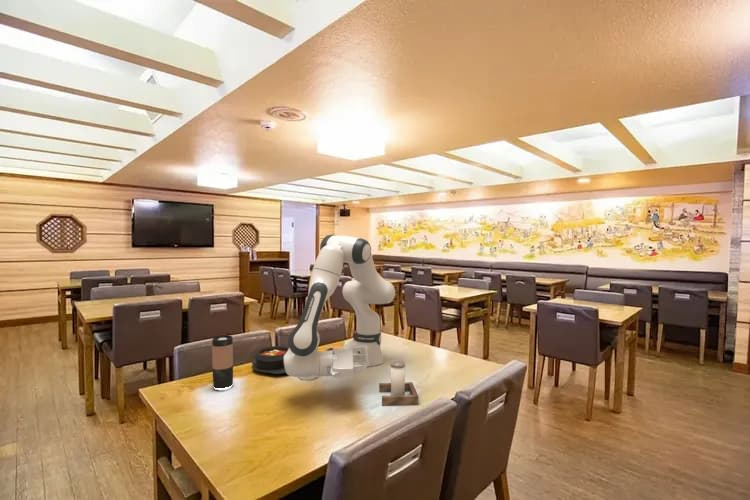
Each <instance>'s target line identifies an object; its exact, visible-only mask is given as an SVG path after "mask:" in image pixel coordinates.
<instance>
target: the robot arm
mask: <svg viewBox="0 0 750 500" xmlns="http://www.w3.org/2000/svg"><path fill="white" fill-rule="evenodd" d="M319 250H320V251H319V253H318V255H317V257H316V259H315V262H314V264H313V267H312V270H311V274H310V278H309V284H308V294H307V298H306V301H305V304H304V307H303V310H302V313H301V317H300V318H299V322H298V323H297V325H296V326H295V327H294V328H293V329H292V331H291V332H290V333H289V335H288V339H287V345H288V348H289V349H288V351H287V353H286V354H285V355H284V357H283V365H284V370H285V372H286V373H285V374H287V375H288V376H290V377H295V378H296V377H297V378H299V377H309V376H312V375H316V376H319V377H334V378H337V379H353V378H354V377H355V376H354V374H355V373H358V372H361V371H366V370H367V368H368V367H373V366H378V365H381V364H383V362H384V358H383V355H382V347H381V346H382V345H381V344H382V332H381V317H380V315H379V314H378V313H377V312H376V310H373V308H371V307H370V305H385V304H390V303H392V302H393V300H394V299H395V295H396V290H395V287H394V285H393V283H391V282H390V281H387V280H386V279H385V278H383V277H382V276H381V274H380V273H379V272H378V271H377V269H376V266H375V262H374V258H373V255H372V246H371V244H370V242H369V241H368V240H367V239H365V238H362V237H355V236H352V235H339V234H338V235H336V234H328V235H325V237H323V238H322V240H321V242H320V245H319ZM344 263H347V264H348V267H349V269H350V270H349V271H350V272H351V273H350V274H351V276H352V279H353V280H348V281H346V282H345V283H344V284H343V287H342V296H343V299H344V300H345V301H346V302H347V303H349V304H350V306H351V307H352V309H353V311H354V313H355V318H356V330H355V331H354V332H353V333H352V334H351V335H352V336H351V337H352V338H353V339H352V340H350V341H349V342H347V343H346V344H345V345H344V346H343V347H342V348H334V347H328V348H327V349H326V350H323V351H322V350H319V349H318V348H319V345H320V342H321V341H320V340H321V339H320V338H321V336H320V333H319V331H318V325H319V321H320V318H321V315H322V312H323V308H324V305H325V303H326V302H327V301H328V300H329V298H330V297H331V296H332V295H333V294H334V292H335V290H336V289H337V287H338V285H339V281H340V279H341V275H342V271H343V268H344Z"/></svg>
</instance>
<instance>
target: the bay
mask: <svg viewBox="0 0 750 500" xmlns="http://www.w3.org/2000/svg"><path fill="white" fill-rule="evenodd" d="M378 390H379V393H391V382H379V384H378ZM406 392H408V393H409V394H405V395H391V394H389V395H381V406H382V407H385V406H386V407H389V406H390V407H391V406H415V405H416V406H418V405H419V400H420V399H419V394H418V393H417V390H416V388H415V386H414V382H411V381H409V382H407V381H405V393H406Z"/></svg>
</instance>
